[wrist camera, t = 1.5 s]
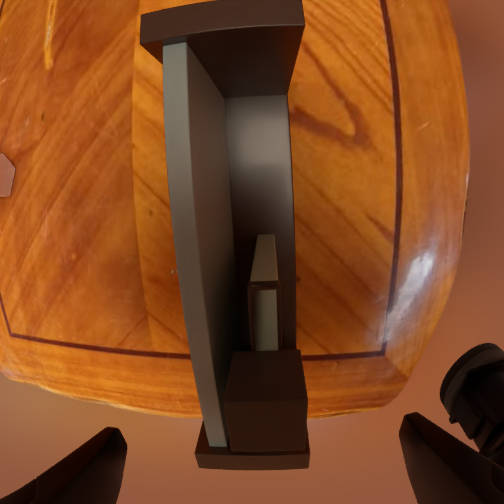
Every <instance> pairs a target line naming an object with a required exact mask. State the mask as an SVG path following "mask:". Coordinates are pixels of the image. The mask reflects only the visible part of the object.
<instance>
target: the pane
mask: <svg viewBox="0 0 504 504" xmlns="http://www.w3.org/2000/svg"><path fill="white" fill-rule="evenodd" d="M247 298H248V312H249V326H250V340H251V351H235V352H233V355H232V360H231V365H230V371H229V376H228V381H227V386H226V391H225V397H224V408H225V415H226V421H227V427H228V433H229V439H230V445H231V450H232V451H245V452H261V451H292V450H304V449H305V438H306V424H307V407H308V397H307V390H306V383H305V376H304V370H303V363H302V357H301V351H300V350H299V349H296V350H282V322H281V287H280V281H278V270H277V258H276V247H275V236H274V234H261V235H258V236H257V241H256V247H255V253H254V259H253V265H252V271H251V278H250V282H248V286H247Z"/></svg>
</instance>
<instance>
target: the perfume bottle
mask: <svg viewBox="0 0 504 504" xmlns="http://www.w3.org/2000/svg"><path fill="white" fill-rule="evenodd" d="M14 174H15V167H14V166H13V165H12V163H11V162H10V161H9V160H8V159H7V157H6V156H5V155H4V154H3V153H2V154H0V197H9V196H10V194H11V188H12V184H13V179H14Z"/></svg>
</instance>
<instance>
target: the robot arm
mask: <svg viewBox="0 0 504 504" xmlns="http://www.w3.org/2000/svg"><path fill="white" fill-rule="evenodd" d="M449 421H450V423H451V424H453V423H457V422H459V424H460V426H461V427H462V429H463V430H464V432H465V434H466V435H467V437H468V438H469V439H470V440H471V439H473V440H474V442H475V444H476V446H477V447H478V449H479V452H477V451H475V450H474V449H472V448H470V447H469V446H467V445H466V444H464V443H463V442H461V441H459V440H458V439H457V438H455V437H454V436H452V435H451V434H449V433H448V432H446V431H445V430H443V429H442V428H440V427H439V426H437V425H436V424H434V423H433V422H431V421H430V420H428V419H427V418H425V417H424V416H422V415H421V414H419V413H417V412H413V413H410V414H406V415H405V416H404V418H403V421H402V424H401V427H400V430H399V438H400V442H401V446H402V451H403V455H404V459H405V464H406V469H407V473H408V476H409V479H410V482H411V485H412V488H413V491H414V494H415V496H416V499H417V502H418V504H504V359H503V360H500V361H497V362H494V363H490V364H487V365H483V366H479V367H476V368H472V369H469V370H468V371H467V372H466V375H465V378H464V381H463V383H462V386H461V389H460V392H459V395H458V397H457V400H456V403H455V405H454V408H453V410H452V413H451V415H450V418H449ZM126 454H127V443H126V441H125V439H124V437H123V435H122V433H121V431H120V430H119V429H118V428H114V427H106V428H104V429H103V430H102V431H100V432H99V433H98V434H96V435H95V436H94V437H92V438H91V439H90V440H88V441H87V442H86V443H84V444H83V445H81V446H80V447H79V448H77V449H76V450H75V451H73V452H72V453H70V454H69V455H68V456H67V457H65V458H64V459H62V460H61V461H59V462H58V463H56V464H55V465H54V466H52V467H51V468H49V469H48V470H47V471H45V472H44V473H42V474H41V475H39V476H38V477H37V478H36V479H33V480H32V481H31V482H29V483H28V484H26V485H24V486H23V487H21V488H20V489H18V490H16V491H15V492H13V493H11V494H9V495H7V496H5V497H3V498H1V499H0V504H116V502H117V499H118V495H119V492H120V488H121V483H122V478H123V471H124V466H125V460H126Z"/></svg>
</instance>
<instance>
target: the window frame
mask: <svg viewBox="0 0 504 504" xmlns="http://www.w3.org/2000/svg"><path fill="white" fill-rule="evenodd" d="M304 28H305V20H304V12H303V5H302V0H216V1H208V2H201V3H195V4H189V5H183V6H178V7H173V8H168V9H163V10H159V11H154V12H150V13H146V14H142V15H141V25H140V45H141V46H142V47H144V48H145V49H146V50H147V51H148V52H149V53H150V54H151V55H153V56H154V57H155V58H156V59H157V60H158V61H159V62H160V63H161V64H162V65H163V98H164V125H165V144H166V160H167V174H168V187H169V198H170V209H171V219H172V229H173V238H174V247H175V255H176V263H177V271H178V279H179V286H180V293H181V300H182V307H183V313H184V320H185V326H186V332H187V338H188V344H189V350H190V355H191V361H192V366H193V372H194V377H195V382H196V387H197V392H198V397H199V402H200V406H201V411H202V416H203V422H202V426H201V430H200V434H199V438H198V442H197V446H196V450H195V457H196V460H197V463H198V466H199V468H207V469H223V470H288V469H305V468H308V467H309V459H310V448H309V439H308V431H307V424H306V438H305V449H304V450H292V451H261V452H245V451H232V450H231V445H230V439H229V433H228V427H227V421H226V415H225V408H224V397H225V391H226V386H227V381H228V376H229V371H230V365H231V360H232V355H233V352H235V351H251V340H250V326H249V312H248V298H247V286H248V282H250V278H251V271H252V265H253V259H254V253H255V247H256V241H257V236H258V235H261V234H274V236H275V247H276V258H277V270H278V281H280V287H281V322H282V350H296V349H297V346H296V260H295V225H294V198H293V176H292V157H291V140H290V125H289V110H288V97H287V94H288V90H289V86H290V82H291V78H292V74H293V70H294V66H295V63H296V59H297V55H298V51H299V47H300V43H301V39H302V36H303V32H304Z"/></svg>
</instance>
